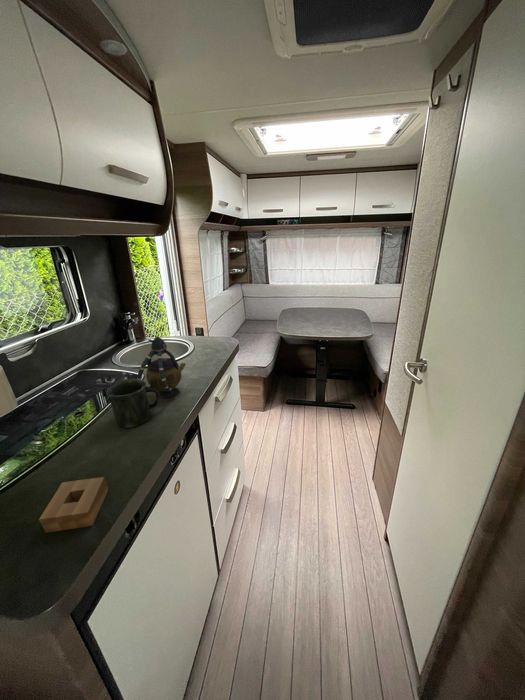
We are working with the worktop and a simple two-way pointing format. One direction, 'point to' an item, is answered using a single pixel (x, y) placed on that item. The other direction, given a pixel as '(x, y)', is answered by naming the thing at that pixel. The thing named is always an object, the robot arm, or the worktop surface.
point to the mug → (131, 402)
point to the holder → (74, 505)
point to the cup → (6, 395)
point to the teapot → (162, 371)
